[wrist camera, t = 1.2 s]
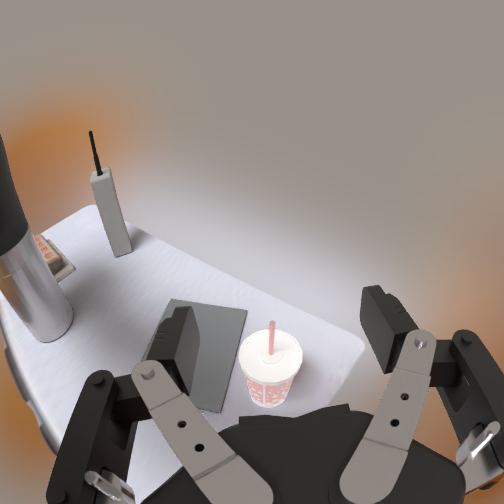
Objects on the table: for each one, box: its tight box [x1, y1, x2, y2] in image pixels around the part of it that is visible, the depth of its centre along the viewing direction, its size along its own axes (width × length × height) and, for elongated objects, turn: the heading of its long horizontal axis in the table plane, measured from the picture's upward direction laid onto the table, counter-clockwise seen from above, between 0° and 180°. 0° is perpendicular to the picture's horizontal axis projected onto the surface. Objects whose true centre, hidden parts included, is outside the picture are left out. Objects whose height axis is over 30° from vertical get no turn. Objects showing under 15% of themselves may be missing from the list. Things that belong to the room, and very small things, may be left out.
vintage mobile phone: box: [89, 131, 132, 257], centre depth 47 cm, size 4×5×25 cm
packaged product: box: [34, 234, 75, 283], centre depth 49 cm, size 18×5×10 cm
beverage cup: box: [239, 321, 302, 408], centre depth 27 cm, size 6×6×14 cm
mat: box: [141, 299, 247, 413], centre depth 36 cm, size 12×16×1 cm
